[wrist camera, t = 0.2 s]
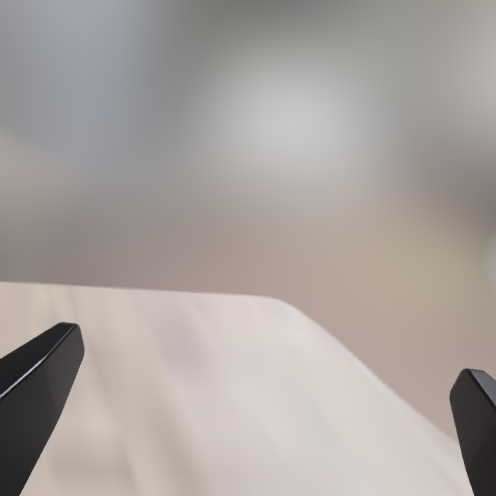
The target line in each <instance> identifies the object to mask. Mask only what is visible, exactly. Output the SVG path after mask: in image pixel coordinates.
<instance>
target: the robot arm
mask: <svg viewBox="0 0 496 496" xmlns="http://www.w3.org/2000/svg"><path fill="white" fill-rule="evenodd" d="M83 357H84V343H83V339H82V334H81V329H80V326H79V325H78V324H75V323H67V322H61V323H58V324H56V325H55V326H53V327H51V328H50V329H48V330H46V331H45V332H43V333H42V334H40V335H38V336H37V337H35V338H33V339H32V340H30V341H29V342H27V343H25V344H24V345H22V346H20V347H19V348H17V349H16V350H14V351H12V352H11V353H9V354H7V355H6V356H4V357H3V358H1V359H0V496H19V495H20V494H21V492H22V490H23V488H24V486H25V484H26V482H27V480H28V478H29V476H30V474H31V472H32V470H33V469H34V467H35V465H36V463H37V461H38V459H39V457H40V455H41V453H42V451H43V449H44V447H45V445H46V443H47V442H48V440H49V438H50V436H51V434H52V432H53V430H54V428H55V426H56V424H57V422H58V420H59V418H60V415H61V413H62V411H63V408H64V406H65V403H66V401H67V398H68V395H69V393H70V390H71V388H72V385H73V383H74V380H75V378H76V375H77V372H78V370H79V367H80V365H81V362H82V360H83ZM450 404H451V409H452V413H453V418H454V422H455V426H456V430H457V435H458V440H459V444H460V448H461V453H462V457H463V461H464V465H465V469H466V472H467V475H468V478H469V481H470V484H471V487H472V490H473V493H474V496H496V381H495V380H494V379H493V378H492V377H491V376H490V375H488V374H487V373H486V372H484V371H482V370H476V369H468V368H467V369H463V370H462V371H461V373H460V374H459V376H458V378H457V380H456V381H455V384H454V385H453V387H452V389H451V391H450Z"/></svg>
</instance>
